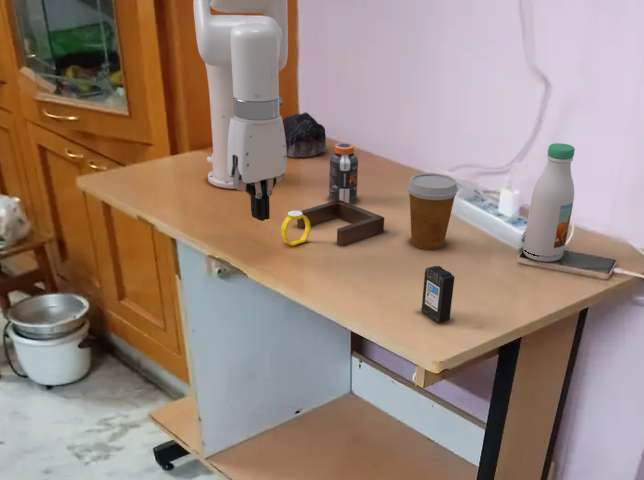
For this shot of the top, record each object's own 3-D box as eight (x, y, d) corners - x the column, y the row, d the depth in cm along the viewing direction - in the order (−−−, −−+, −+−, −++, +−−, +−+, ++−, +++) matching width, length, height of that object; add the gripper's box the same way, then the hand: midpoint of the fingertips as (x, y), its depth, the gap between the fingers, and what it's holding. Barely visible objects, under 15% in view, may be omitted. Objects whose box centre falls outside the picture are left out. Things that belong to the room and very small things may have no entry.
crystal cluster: (278, 144, 214) (273, 102, 207) (331, 142, 213) (328, 101, 206) (269, 164, 204) (263, 121, 198) (324, 163, 203) (320, 120, 196)
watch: (304, 238, 164) (304, 207, 160) (312, 242, 162) (313, 212, 158) (278, 244, 161) (278, 213, 157) (287, 249, 159) (286, 218, 155)
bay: (297, 226, 168) (296, 211, 166) (338, 213, 175) (338, 199, 173) (342, 246, 161) (342, 230, 159) (383, 232, 168) (384, 217, 166)
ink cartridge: (420, 312, 140) (424, 266, 135) (431, 309, 141) (436, 263, 136) (438, 324, 137) (443, 277, 132) (449, 321, 138) (454, 275, 133)
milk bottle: (538, 265, 158) (558, 154, 145) (514, 250, 163) (531, 142, 151) (571, 259, 161) (593, 150, 148) (546, 244, 166) (565, 138, 153)
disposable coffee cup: (457, 238, 167) (464, 176, 159) (445, 256, 159) (451, 192, 152) (411, 231, 169) (415, 169, 161) (397, 248, 162) (401, 184, 154)
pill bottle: (353, 206, 179) (355, 150, 172) (326, 203, 180) (327, 147, 173) (359, 196, 183) (361, 142, 176) (332, 194, 184) (333, 139, 177)
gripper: (276, 98, 147) (278, 204, 158) (206, 110, 138) (214, 221, 150) (305, 106, 143) (305, 214, 154) (235, 120, 134) (241, 233, 146)
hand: (260, 217), depth 152 cm, fingers closed
